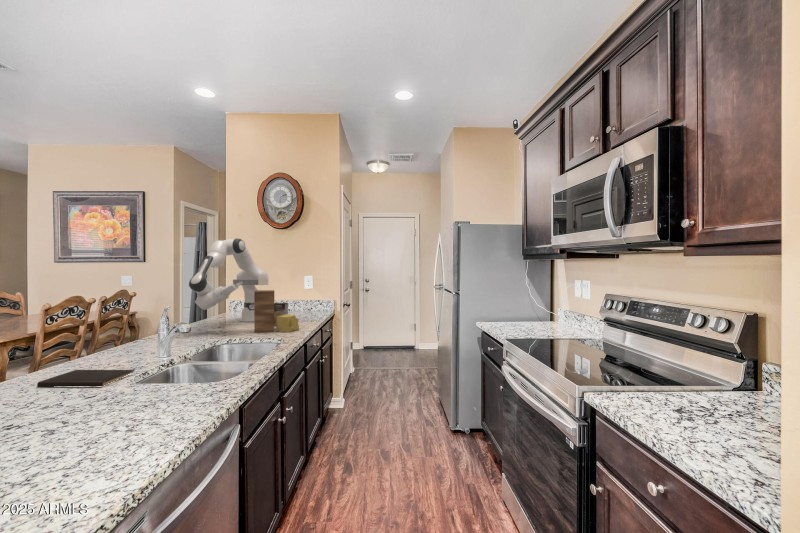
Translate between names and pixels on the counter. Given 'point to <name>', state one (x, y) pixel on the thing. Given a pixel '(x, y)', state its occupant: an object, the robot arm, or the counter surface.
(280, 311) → the coffee box
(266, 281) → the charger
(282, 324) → the cheese
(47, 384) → the hardcover book
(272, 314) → the stand
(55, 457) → the counter surface
